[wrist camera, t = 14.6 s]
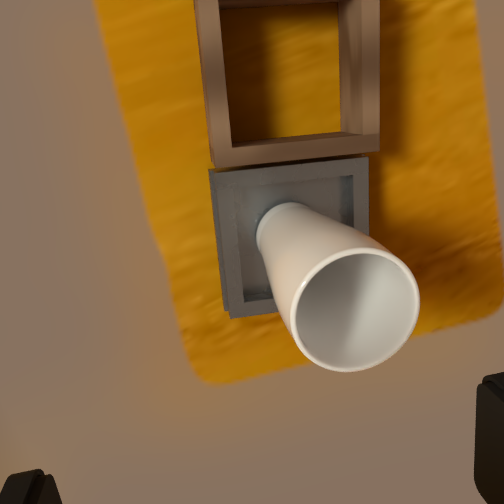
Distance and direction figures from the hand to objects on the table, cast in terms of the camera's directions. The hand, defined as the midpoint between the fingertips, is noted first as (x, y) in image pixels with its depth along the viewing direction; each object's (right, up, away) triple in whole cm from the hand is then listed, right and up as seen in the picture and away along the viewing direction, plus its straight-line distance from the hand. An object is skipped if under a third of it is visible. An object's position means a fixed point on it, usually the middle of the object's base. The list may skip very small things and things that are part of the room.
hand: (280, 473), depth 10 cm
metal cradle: (+2, +6, +28) cm, 29 cm away
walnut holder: (+1, +18, +24) cm, 30 cm away
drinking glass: (+2, +6, +27) cm, 28 cm away
